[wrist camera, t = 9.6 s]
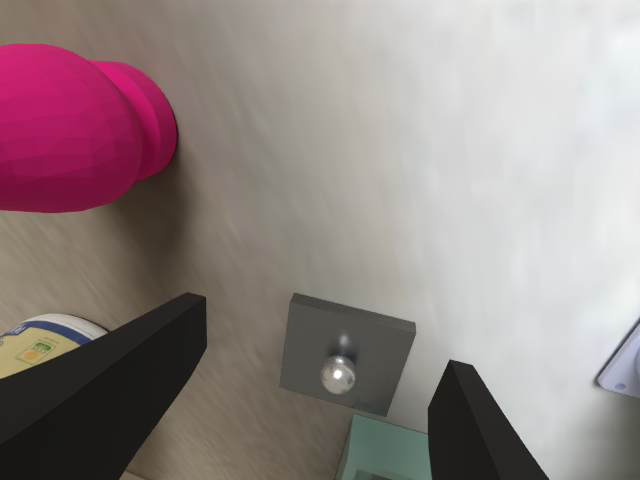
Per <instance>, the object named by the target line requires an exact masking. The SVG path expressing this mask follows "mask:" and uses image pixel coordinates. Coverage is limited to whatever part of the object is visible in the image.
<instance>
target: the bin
mask: <svg viewBox="0 0 640 480" xmlns="http://www.w3.org/2000/svg"><path fill="white" fill-rule="evenodd" d="M372 474H375V475H379V476H382V477H385V478H388V479H392V480H432V476H431V467H430V459H429V449H428V435H427V434H424V433H420V432H417V431H413V430H410V429H406V428H403V427H399V426H396V425H392V424H389V423H385V422H382V421H378V420H374V419H371V418H367V417H364V416H360V415H357V414H353V417H352V421H351V424H350V428H349V431H348V435H347V438H346V442H345V445H344V448H343V452H342V455H341V459H340V462H339V466H338V469H337V472H336V476H335V479H334V480H372Z"/></svg>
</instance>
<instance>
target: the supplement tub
mask: <svg viewBox="0 0 640 480" xmlns="http://www.w3.org/2000/svg"><path fill="white" fill-rule="evenodd" d="M107 333H108V332H107V331H106V330H104V329H102V328H101V327H99V326H97V325H95V324H93V323H91V322H89V321H87V320H84V319H82V318H79V317H75V316H71V315H66V314H45V315H40V316H36V317H33V318H30V319H28V320H26V321H23V322H21V323H20V324H18V325H17V326H16V327H15V328H13V329H11V330H10V331H8V332H7V333H5V334H4V335H2V336H1V337H0V379H1V378H4V377H7V376H9V375H12V374H15V373H17V372H20V371H22V370H25V369H27V368H30V367H32V366H35V365H38V364H40V363H43V362H45V361H47V360H50V359H52V358H55V357H57V356H59V355H62V354H64V353H66V352H68V351H71V350H73V349H75V348H77V347H79V346H81V345H83V344H86V343H88V342H90V341H92V340H94V339H96V338H98V337H100V336H103V335H105V334H107Z"/></svg>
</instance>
